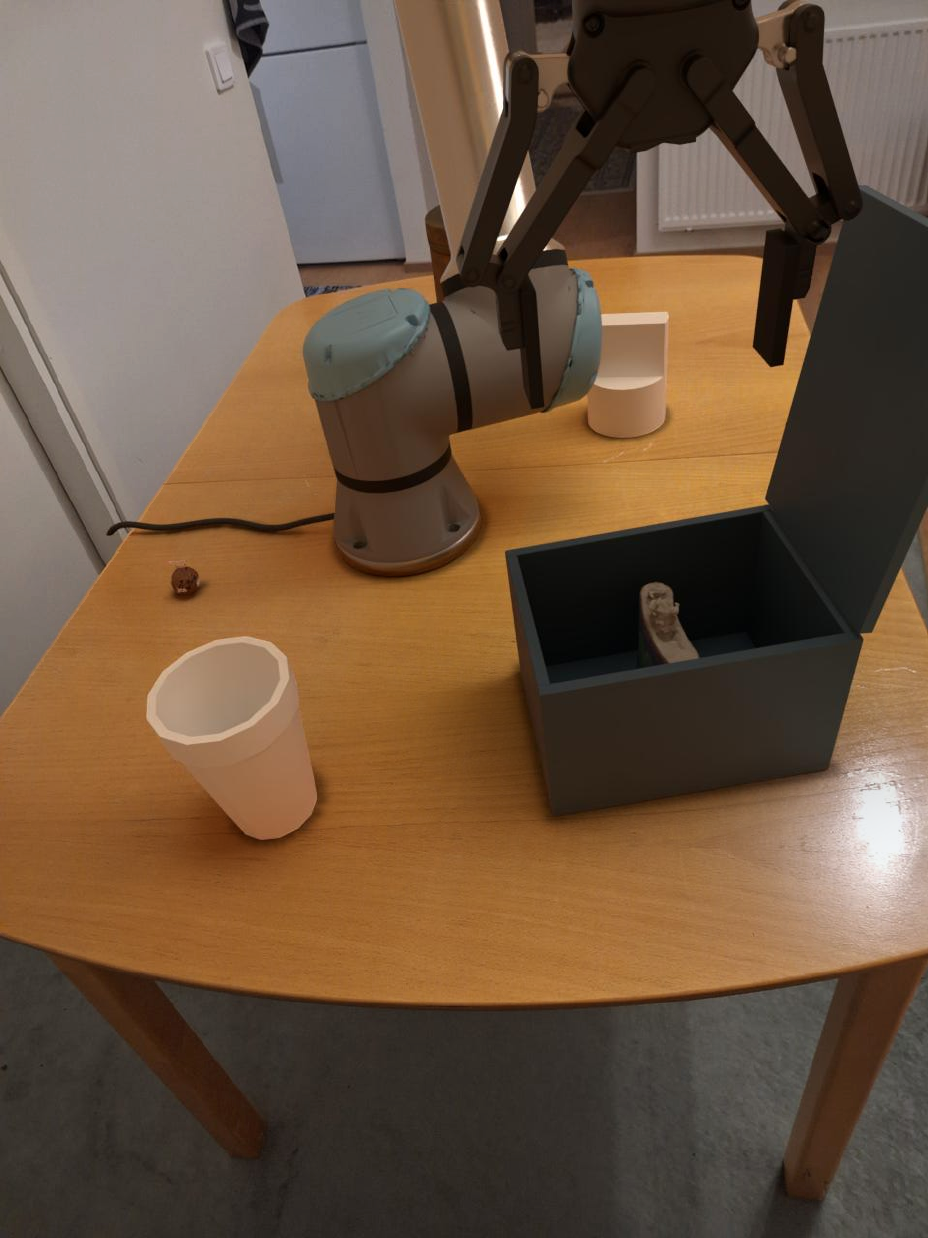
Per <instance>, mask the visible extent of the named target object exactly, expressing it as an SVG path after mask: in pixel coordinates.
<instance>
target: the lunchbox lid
mask: <svg viewBox="0 0 928 1238" xmlns="http://www.w3.org/2000/svg"><path fill="white" fill-rule="evenodd" d="M858 186H859V189H860V193H861V196H862V199H863V206H862V210H861V211H860V213H859V214H858V215H857V216H856V217H855V218H854V219H851V220H847V221H845V220H843V219H842V220H843V221H842V224H841V227H840V230H839V235H838V238H837V242H836V245H835V249H834V252H833V256H832V258H831V262H830V265H829V269H828V273H827V277H826V279H825V283H824V287H823V291H822V294H821V298H820V302H819V305H818V309H817V312H816V316H815V321H814V322H813V327H812V330H811V333H810V337H809V341H808V344H807V347H806V350H805V355H804V359H803V362H802V365H801V369H800V371H799V372H800V373H799V375H798V380H797V383H796V386H795V391H794V394H793V398H792V401H791V405H790V408H789V412H788V415H787V419H786V422H785V426H784V429H783V433H782V437H781V439H780V443H779V447H778V450H777V454H776V458H775V461H774V465H773V468H772V472H771V475H770V479H769V481H768V482H769V483H768V487H767V489H766V493H765V497H764V500H765V502H766V503H767V504H769V505H770V507H771V508H772V510H773V511H774V513H775V514H776V515H777V517H778V518H779V520H780V521H781V523H782V524H783V525H784V527H785V528H786V530H787V531H788V533H789V534H790V535H791V537H792V538H793V540H794V541H795V543H796V544H797V545H798V547H799V548H800V550H801V551H802V553H803V554H804V555H805V557H806V558H807V560H808V561H809V562H810V564H811V565H812V567H813V568H814V570H815V571H816V572H817V574H818V575H819V577H820V578H821V580H822V581H823V582H824V584H825V585H826V587H827V588H828V590H829V591H830V592H831V594H832V595H833V597H834V598H835V600H836V601H837V602H838V604H839V605H840V607H841V608H842V610H843V611H844V612H845V614H846V615H847V617H848V618H849V620H850V621H851V622H852V624H853V625H854V627H855V628H856V630H857V631H858V632H859V634H861V635H862V634H863V635H864V634H872V633H873V632H874V630H875V627H876V625H877V623H878V620H879V618H880V616H881V613H882V612H883V609H884V607H885V605H886V602H887V600H888V598H889V596H890V593H891V591H892V589H893V586H894V584H895V582H896V580H897V577H898V575H899V573H900V570H901V568H902V566H903V563H904V561H905V560H906V557H907V554H908V553H909V550H910V548H911V546H912V543H913V542H914V539H915V537H916V535H917V532H918V530H919V528H920V526H921V523H922V521H923V519H924V517H925V514H926V512H927V510H928V217H926V216H924V215H922V214H920V213H918V212H917V211H915V210H913V209H912V208H910V207H908V206H906V205H904V204H902V203H900V202H899V201H896V200H895V199H893V198H891V197H889V196H887V195H885V194H884V193H882V192H880V191H878V190H876V189H874V188H872V187H871V186H869V185H867V184H858Z"/></svg>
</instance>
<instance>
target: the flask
mask: <svg viewBox="0 0 928 1238" xmlns="http://www.w3.org/2000/svg"><path fill="white" fill-rule="evenodd" d="M678 613H679V604H678V603H675V607H674V598H673V592H672V589H671V588H670V587H669V586H667V585H664V584H663V583H659V582H654V583H649V584H647V585H645V586H643V587H642V588H641V591H640V593H639V628H638V658H637V668H636V669H640V668H645V667H651V666H657V665H663V664H668V663H674V662H680V661H686V660H691V659H697V658H700V657H699V653H698V651H697V650H696V649H695V648H694V646H693V645H692V643H691V642H690V641H689V640H688V638H687V636H686V634H685V632H684V629H683V628H682V626H681V624H680V622H679V620H678V616H677V614H678Z"/></svg>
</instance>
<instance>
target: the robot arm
mask: <svg viewBox="0 0 928 1238" xmlns="http://www.w3.org/2000/svg"><path fill="white" fill-rule="evenodd" d="M393 2H394V3H393V4H394V7H395V12H396V16H397V21H398V25H399V26H398V27H399V30H400V35H401V39H402V44H403V48H404V51H405V57H406V61H407V65H408V69H409V75H410V79H411V83H412V88H413V92H414V96H415V102H416V105H417V110H418V115H419V119H420V123H421V128H422V133H423V137H424V141H425V145H426V150H427V155H428V160H429V163H430V168H431V172H432V177H433V181H434V185H435V191H436V194H437V195H436V196H437V199H438V205H440V208H441V213H442V217H443V222H444V226H445V230H446V235H447V239H448V244H449V248H450V253H451V260H450V262H449V264H448V266H447V268H446V270H445V271H444V273H443V275H442V277H441V279H440V283H441V288H442V292H443V297H444V301H442V302H437V301H436V302H434V303H429V301H428V300H426V298H425V296H424V295H423V294H422V293H421V292H419V291H418V290H416V289H412V288H407V287H398V288H395V289H393V290H392V289H390V288H384V289H383V288H382V289H378V290H375V291H374V290H373V291H370V292H367V293H364V294H361V295H358V296H355V297H354V298H350V299H349V300H347V301H344V302H342V303H340V304H339V305H337V306H335V307H334V308H332V309H330V310H329V311H327V312H326V313H325V314H323V315H322V316H321V317H320V318H319V319H318V320H317V321H316V322H314V324H313V325H312V326H311V327H310V329H309V330H308V332H307V334H306V335H305V338H304V341H303V344H302V359H303V362H304V366H305V372H306V376H307V380H308V382H307V389H308V392H309V395H310V397H311V399H313V400H314V402H315V406H316V410H317V413H318V417H319V421H320V424H321V429H322V431H323V436H324V440H325V443H326V447H327V450H328V454H329V458H330V461H331V464H332V468H333V471H334V475H335V478H336V479H335V480H336V486H335V487H336V488H335V498H334V499H335V500H334V512H330V513H324V514H319V515H315V516H310V517H304V518H300V519H297V520H293V521H289V522H286V523H280V524H267V523H260V522H259V523H258V522H254V521H250V520H245V519H240V518H233V517H213V518H204V519H196V520H191V521H183V522H176V523H167V524H166V523H165V524H157V523H149V522H141V521H131V520H125V521H119V522H117V523H115V524H113V525H111V526H110V527H109V528H108V529H107V531H106V534H105V535H106V536H107V537H110V536H114V534H115V533H116V532H117V531H119V530H121V529H139V530H146V531H154V532H167V531H168V532H169V531H170V532H171V531H178V530H185V529H192V528H199V527H206V526H217V525H219V526H221V525H227V526H228V525H231V526H238V527H242V528H247V529H252V530H256V531H262V532H283V531H288V530H292V529H296V528H299V527H303V526H307V525H313V524H318V523H324V522H329V521H333V526H332V527H333V537H334V540H335V543H336V547H337V550H338V553H339V555H340V556H341V558H342V559H343V560H344V561H345V562H346V563H347V564H348V565H349V566H351V567H352V568H354V569H355V570H359V571H361V572H364V573H367V574H370V575H376V576H383V577H384V576H385V577H399V576H400V577H401V576H408V575H409V576H410V575H415V574H420V573H424V572H427V571H430V570H434V569H437V568H439V567H442V566H443V565H446V564H448V563H449V562H452V561H453V560H455V559H456V558H458V557H459V556H461V554H463V553H464V552H465V551H467V550H468V549H469V548H470V546H472V544H473V543H474V542H475V540H476V539H477V537H478V535H479V532H480V530H481V523H482V519H481V518H482V517H481V513H480V512H481V511H480V506H479V501H478V499H477V497H476V495H475V492H474V491H473V489H472V488H471V486H470V484H469V482H468V480H467V479H466V477H465V475H464V473H463V471H462V470H461V468H460V466H459V464H458V463H457V461H456V459H455V457H454V456H453V452H452V451H453V450H452V447H451V442H450V436H453V435H456V434H459V433H462V432H467V431H472V430H475V429H479V428H483V427H487V426H491V425H496V424H500V423H503V422H507V421H512V420H515V419H519V418H523V417H528V416H531V415H535V414H540V413H541V414H543V413H544V414H546V413H550V412H551V411H552V410H553V409H556V408H559V407H563V406H566V405H570V404H573V403H576V402H578V401H581V400H582V399H583V398H585V397H587V394H588V392H589V391H590V390H591V388H592V386H593V385H594V382H595V380H596V377H597V374H598V369H599V366H600V361H601V353H602V317H601V314H602V309H601V302H600V298H599V294H598V290H597V289H596V288H595V286H594V285H595V284H594V280H593V277H592V276H591V275H590V273H589V272H588V271H587V270H585V269H582V268H578V267H576V266H575V267H569V261H568V257H567V251H566V248H565V245H563V244H562V243H560V242H558V241H557V240H555V239H554V238H553V237H554V236H555V234H556V233H557V231H558V229H559V227H560V226H561V225H562V223H563V222H564V220H565V218H566V216H568V214H569V212H570V210H571V209H572V208H573V206H574V204H575V203H576V201H577V200H578V198H579V197H580V196H581V194H582V192H583V190H584V189H585V188H586V187H587V184H589V182H590V181H591V179H592V177H593V176H594V174H595V173H597V172H598V171H600V170H601V169H602V168H603V167H604V165H605V164H606V162H607V161H608V159H609V158H610V157H611V155H612V153H613V152H614V151H615V149H616V148H617V149H619V150H623V151H627V152H628V153H629V154H630V155H632V154H638V153H642V152H643V153H644V152H647V151H650V150H651V149H654V148H655V147H657V146H660V145H662V144H669V145H676V146H682V145H688V144H693V143H697V138H698V137H700V136H701V135H703V134H704V133H705V132H706V131H707V130H708V129H709V130H710V131H711V132H712V133H713V134H714V135H715V136H716V137H717V138H718V140H719V142H721V144H722V145H723V147H725V149H726V150H727V152H728V153H729V154H730V155H731V157H732V158H733V160H735V162H736V163H737V164H738V165H739V167H740V168H741V169H742V171H743V172H744V174H745V175H746V176H747V177H748V179H750V181H751V182H752V183H753V185H754V186H755V188H756V189H757V190H758V192H759V193H760V194H761V195H762V197H763V198H764V200H765V201H766V202H767V204H769V206H770V207H771V209H772V210H773V211H774V212H775V213H776V215H777V217H779V218H780V220H781V221H782V223H783V224H784V230H783V229H782V228H781V227H778V228H772V229H767V230H766V231H765V237H764V247H763V255H762V263H761V271H760V280H759V287H758V298H757V306H756V307H757V308H756V313H755V322H754V323H755V324H754V331H753V340H752V348H753V349H754V350H755V352H756V353H757V354H758V355H759V356H760V358H761V359H762V360H763V361H764V362H765V363H766V364H767V365H768V366H769V368H775V367H780V366H784V365H785V359H786V353H787V345H788V339H789V332H790V325H791V324H790V323H791V319H792V311H793V305H794V301H795V300H800V299H801V300H802V299H806V297H807V295H808V293H809V291H810V289H811V285H812V280H813V273H814V270H813V269H814V266H815V259H816V254H817V248H818V246H820V245H822V244H824V243H825V242H827V240H828V239H829V238H830V237H831V234H832V230H833V229H832V228H833V227H832V226H833V225H834V224H836V223H838V222H840V221H841V220H845V221H847V220H851V219H854V218H855V217H856V216H857V215H858V214H859V213H860V211H861V210H862V206H863V199H862V196H861V193H860V189H859V186H858V185H859V182H858V179H857V175H856V172H855V169H854V166H853V162H852V159H851V156H850V152H849V149H848V145H847V142H846V138H845V135H844V132H843V128H842V124H841V120H840V117H839V114H838V110H837V107H836V103H835V101H834V97H833V93H832V91H831V87H830V83H829V81H828V77H827V74H826V70H825V66H824V43H825V26H826V25H825V23H826V22H825V21H826V16H825V11H824V10H823V7H822V6H820V5H817V4H815V3H811V2H807V1H803V0H785V1H783V2H782V3H781V4H780V5H779V6H778V8H777V10H776V11H773V12H770V13H767V14H764V15H760V16H757V17H755V16H754V12H753V5H752V0H571V3H572V4H571V8H572V9H571V10H572V12H571V13H572V28H571V29H572V30H571V36H570V40H569V43H568V46H567V49H566V50H565V53H543V54H542V53H539V54H529V53H527V52H526V51H525V50H523V49H521V48H514V49H511V50H510V49H509V45H508V39H507V32H506V28H505V24H504V17H503V13H502V9H501V8H502V7H501V3H500V0H393ZM759 49H760V50H761V52H762V56H763V59H764V62H765V63H766V64H768V65H769V66H771V67H773V68H775V72H776V76H777V80H778V84H779V86H780V91H781V93H782V96H783V99H784V102H785V105H786V107H787V111H788V114H789V117H790V120H791V123H792V126H793V129H794V132H795V135H796V138H797V141H798V144H799V148H800V151H801V153H802V157H803V159H804V163H805V165H806V169H807V171H808V174H809V177H810V180H811V181H810V182H811V183H812V186H813V190H814V193H815V194H813V195H812V196H810V197H809V196H808V195H807V194H806V192H805V191H804V189H803V188H802V187H801V186H800V184H799V182H798V181H797V180H796V178H795V177H794V176H793V174H792V173H791V172H790V170H789V169H788V167H787V166H786V165H785V164H784V162H783V160H782V159H781V158H780V156H778V154H777V152H776V151H775V150H774V149H773V147H772V146H771V145H770V143H769V141H768V140H767V139H766V137H765V136H764V135H763V134H762V132H761V130H760V129H759V128H758V127H757V125H756V121H755V119H754V117H752V115H751V114H750V113H749V111H748V110H747V108H746V107H745V106H744V104H743V103H742V101H741V100H740V99H739V97H738V95H737V94H735V93H736V92H734V90H735V88H736V86H737V85H738V83H739V81H740V80H741V78H742V77H743V75H744V73H745V72H746V70H747V69H748V67H749V66H750V64H751V62H752V61H753V59H754V57H755V56H756V53H757V51H758V50H759ZM563 85H566V86H567V87H568V89H569V90H570V91H571V93H572V94H573V95H574V97H575V98H576V99H577V101H578V102H579V104H580V105H581V106H582V107H583V108H582V109H581V110H580V113H579V114H578V115H577V116H576V119H575V120H574V122H573V124H572V125H571V127H570V128H569V130H568V132H567V134H566V136H565V138H564V143H563V145H562V147H561V149H560V150H559V152H558V154H557V155H556V157H555V158H554V160H553V161H552V163H551V165H550V167H549V168H548V170H547V172H546V173H545V175H544V176H543V178H542V179H541V181H540V183H539V184H538V186H537V187H536V182H535V177H534V173H533V168H532V163H531V162H532V161H531V156H530V152H529V149H530V145H531V143H532V140H533V137H534V134H535V129H536V125H537V119H538V114H539V113H543V112H545V111H547V110H548V109H549V108H550V106H551V104H552V102H553V98H554V96H555V93H556V91H557V90H558V89H559V88H560V87H561V86H563Z"/></svg>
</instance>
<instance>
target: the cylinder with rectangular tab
mask: <svg viewBox="0 0 928 1238" xmlns="http://www.w3.org/2000/svg"><path fill="white" fill-rule="evenodd" d="M601 317H602V353H601V361H600V366H599V369H598V374H597V377H596V380H595V382H594V385H593V386H592V388H591V390H590V391H589V392H588V394H587V395H586V398H587V399H586V400H587V423H588V425H589V428H590V429H591V430H593V431H594V433H597V434H599V435H601V436H605V437H609V438H615V439H616V438H617V439H627V438H630V439H632V438H636V437H641V436H645V435H647V434H651V433H653V432H654V431H656V430H658V429H660V427H661V426H663V424H664V423H665V420H666V412H667V411H666V410H667V409H666V408H667V381H668V355H669V352H668V351H669V325H670V324H669V323H670V316H669V312H668V311H651V312H650V311H649V312H648V311H647V312H645V311H644V312H621V313H619V312H618V313H601Z"/></svg>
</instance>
